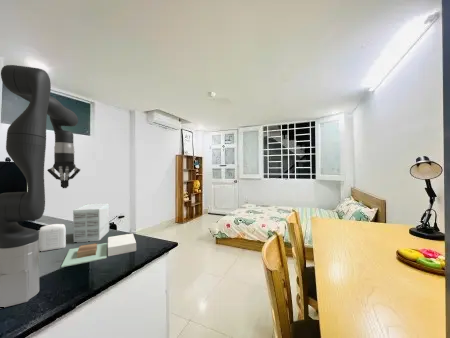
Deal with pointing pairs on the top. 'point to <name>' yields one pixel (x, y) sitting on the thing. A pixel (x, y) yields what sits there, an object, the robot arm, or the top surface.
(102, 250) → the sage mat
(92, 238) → the supplement box
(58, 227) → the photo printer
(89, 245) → the walnut tile
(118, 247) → the white flat block
